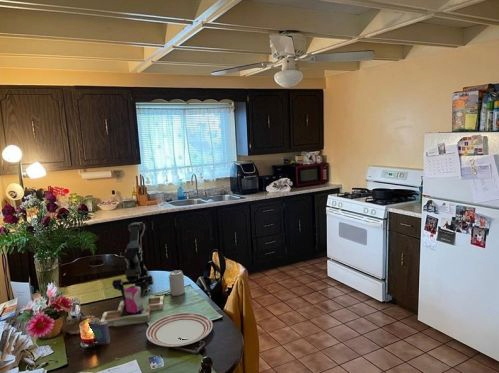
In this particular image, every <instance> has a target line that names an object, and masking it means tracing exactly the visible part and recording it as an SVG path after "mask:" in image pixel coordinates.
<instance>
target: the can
mask: <svg viewBox="0 0 499 373" xmlns="http://www.w3.org/2000/svg"><path fill="white" fill-rule="evenodd" d="M184 277H185V276H184V273H183V271H182V270H180V269H179V270H172V271H170V272H169V275H168V282H169V291H170V295H172V296H173V297H179V296H182V295H183V294H185V292H186V288H185V278H184Z"/></svg>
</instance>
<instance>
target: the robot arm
mask: <svg viewBox="0 0 499 373" xmlns="http://www.w3.org/2000/svg"><path fill="white" fill-rule="evenodd" d="M145 230H146V225H145V223H143V221H140V222H139V221H138V222H137V221H136V222H131V223H130V224H128V232H130V237H129V243H128V244H127V245H126V249H125V250H124V253H123V257H124V260H125V263H126V265H127V269H126V270H125V279H126V280H122V279H121V278H118V279H113V280H112V283H111V284H112V287H113V289H114V290H118V291H120V292H121V296H122V300H123V301H125V295H124V290H125V289H126V288H125V286H128V285H134V286H138V287H141V298H142V299H143V298H144V294H145V293H146V290H147V289H149V288H150V286H153V285H154V277H153V275H151V274H150V275H149V273H148V269H147V267H146V266H145V263H144V262H143V257H142V256H143V249H142V247H143V246H142V237H143V236H144V234H145Z"/></svg>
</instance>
